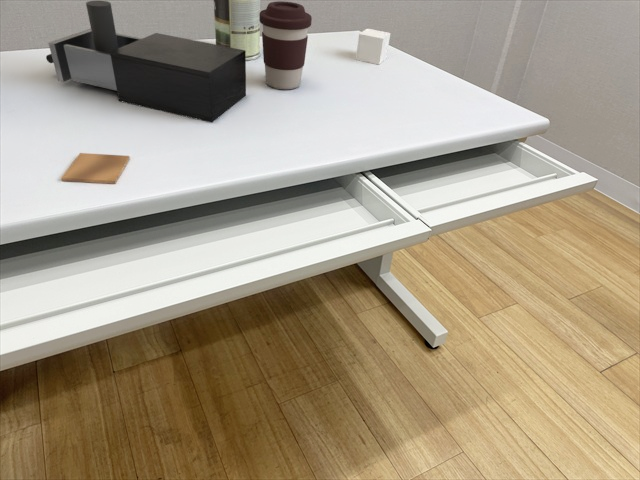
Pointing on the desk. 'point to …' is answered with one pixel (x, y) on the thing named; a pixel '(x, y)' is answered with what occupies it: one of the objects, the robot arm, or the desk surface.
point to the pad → (96, 168)
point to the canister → (102, 26)
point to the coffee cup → (284, 43)
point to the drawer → (84, 59)
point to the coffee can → (238, 25)
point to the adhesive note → (372, 46)
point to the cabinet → (180, 76)
